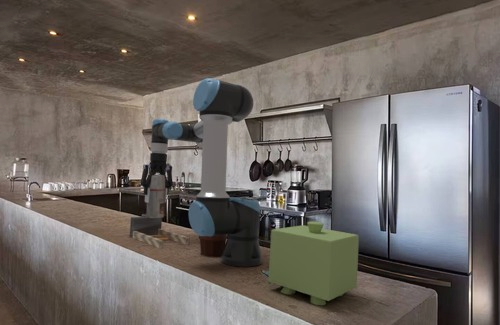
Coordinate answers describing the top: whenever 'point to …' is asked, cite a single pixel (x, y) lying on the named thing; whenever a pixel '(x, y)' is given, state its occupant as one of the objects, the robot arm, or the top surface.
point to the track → (153, 232)
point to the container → (314, 261)
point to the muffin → (212, 245)
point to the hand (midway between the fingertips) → (155, 202)
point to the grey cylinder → (156, 197)
